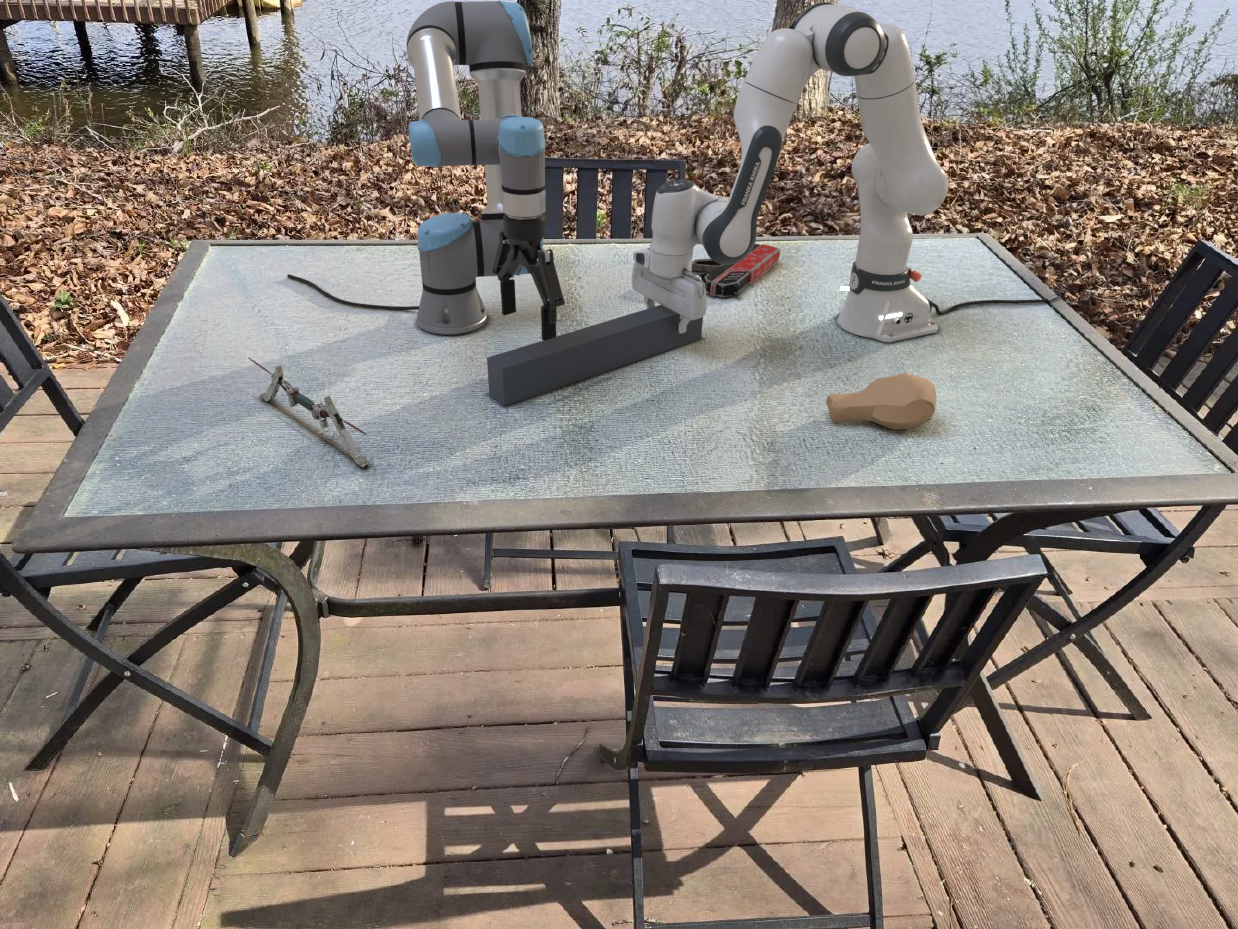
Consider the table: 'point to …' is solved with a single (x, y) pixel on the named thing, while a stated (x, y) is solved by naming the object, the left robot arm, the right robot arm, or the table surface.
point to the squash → (888, 402)
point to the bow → (313, 411)
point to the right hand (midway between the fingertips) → (666, 324)
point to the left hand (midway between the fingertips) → (528, 325)
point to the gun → (735, 271)
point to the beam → (586, 353)
